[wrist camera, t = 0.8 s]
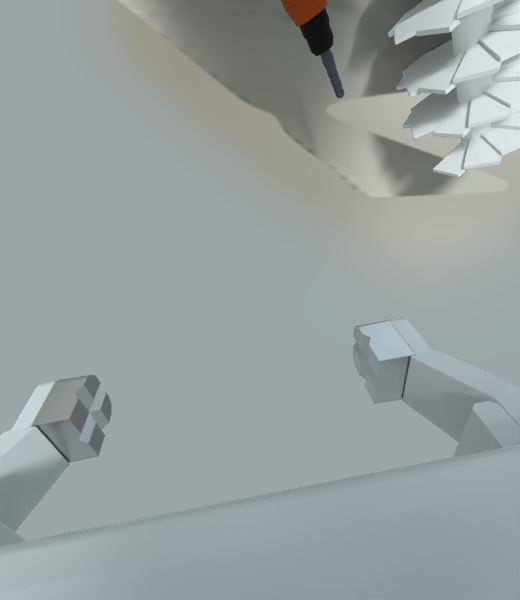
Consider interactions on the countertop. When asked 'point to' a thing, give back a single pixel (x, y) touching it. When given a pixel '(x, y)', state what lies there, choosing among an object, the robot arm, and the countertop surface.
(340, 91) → the toy drill
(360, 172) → the countertop surface
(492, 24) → the spiral staircase
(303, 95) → the countertop surface
